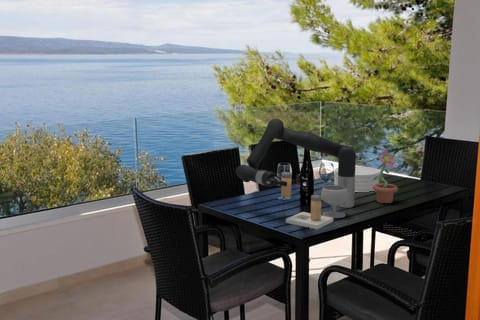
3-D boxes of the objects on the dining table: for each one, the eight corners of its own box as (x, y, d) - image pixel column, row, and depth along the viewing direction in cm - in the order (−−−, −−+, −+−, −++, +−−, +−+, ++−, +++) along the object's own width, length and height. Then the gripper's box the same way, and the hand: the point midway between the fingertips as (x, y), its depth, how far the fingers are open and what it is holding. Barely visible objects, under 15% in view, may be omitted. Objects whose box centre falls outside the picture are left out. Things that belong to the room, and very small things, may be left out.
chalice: (344, 211, 286) (345, 184, 283) (350, 219, 272) (351, 190, 269) (318, 212, 285) (318, 184, 283) (323, 219, 272) (323, 190, 269)
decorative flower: (383, 206, 295) (385, 153, 290) (365, 201, 307) (367, 150, 301) (402, 203, 302) (405, 151, 297) (384, 198, 314) (386, 147, 309)
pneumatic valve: (295, 192, 329) (295, 173, 327) (309, 189, 336) (310, 170, 334) (300, 193, 325) (301, 174, 323) (315, 191, 331) (315, 172, 329)
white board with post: (302, 215, 279) (302, 189, 276) (333, 221, 268) (334, 194, 266) (285, 222, 267) (286, 195, 264) (317, 229, 256) (317, 201, 253)
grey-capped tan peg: (284, 194, 272) (284, 171, 270) (293, 196, 269) (293, 172, 267) (279, 196, 268) (279, 173, 266) (287, 198, 265) (287, 174, 263)
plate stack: (345, 194, 324) (346, 176, 322) (327, 184, 351) (327, 167, 349) (387, 191, 331) (388, 173, 329) (366, 182, 357) (366, 165, 355)
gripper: (256, 173, 272) (280, 178, 260) (275, 169, 282) (300, 173, 269) (256, 187, 273) (280, 193, 261) (275, 182, 283) (299, 188, 270)
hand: (290, 183), depth 265 cm, fingers closed on grey-capped tan peg, 5 cm apart
